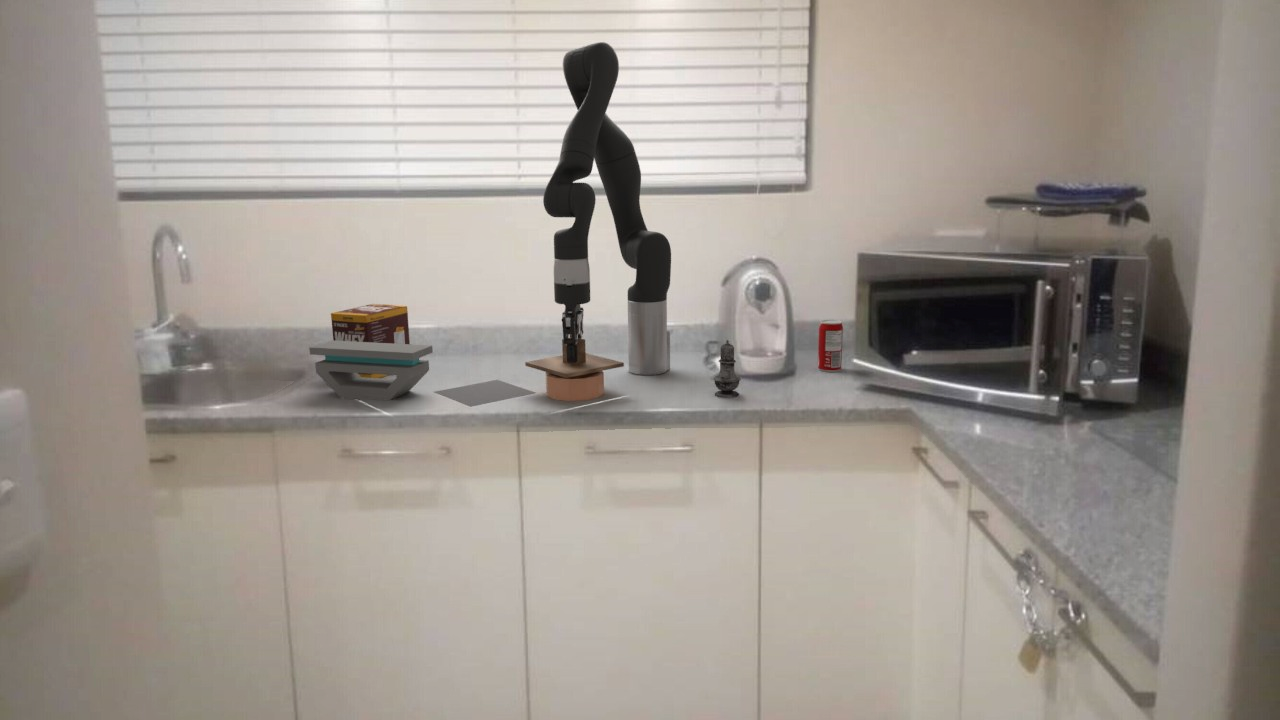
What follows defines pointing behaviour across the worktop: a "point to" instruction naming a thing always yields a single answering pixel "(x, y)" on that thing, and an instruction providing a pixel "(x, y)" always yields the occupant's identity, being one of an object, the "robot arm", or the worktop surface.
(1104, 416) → the worktop surface
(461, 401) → the charcoal mat
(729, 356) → the salt shaker
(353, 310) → the supplement box
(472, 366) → the worktop surface
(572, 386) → the terracotta bowl
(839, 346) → the soda can
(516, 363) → the worktop surface
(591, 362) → the walnut lid
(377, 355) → the sharpening stone
